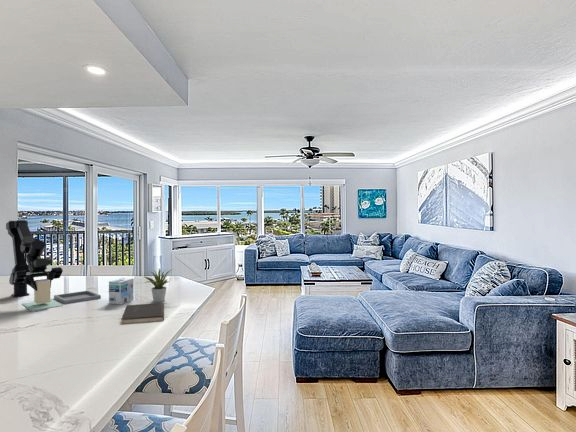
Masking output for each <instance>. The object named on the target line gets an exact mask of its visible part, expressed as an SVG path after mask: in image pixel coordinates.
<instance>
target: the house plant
mask: <svg viewBox="0 0 576 432" xmlns="http://www.w3.org/2000/svg"><path fill="white" fill-rule="evenodd" d="M173 270H174V269H170V270H168V271H167V269H165V270H164V271H162V270H161V268H158V273H157V271H156V270H153V269H152V271H153V272H152V271H150V270H148V272H149V273H148V272H147V271H146V272H145V273H147V274H149V275H150V274H152V277H153V278H151V277H148V276H144V278H145V279H146V280H147V281H146V283H151V284H152V285H153V286H154V287H151V294H152V295H151V296H152V300H153V302H154V303H161V302H164V301H165V299H166V294H167V293H166V292H167V287H166V286H164V285H165V284H167V283H169V281H168V279H167V277H168V276H169V274H170V273H171V271H173ZM166 271H167V272H166ZM165 272H166V273H165ZM160 301H161V302H160Z"/></svg>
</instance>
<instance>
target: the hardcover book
mask: <svg viewBox="0 0 576 432" xmlns="http://www.w3.org/2000/svg"><path fill="white" fill-rule="evenodd" d="M121 321H122V324H131V323H132V322H134V323H143V322H144V323H145V322H157V321H165V304H164V302H154V303H141V304H140V303H139V304H126V305H125V309H124V312H123V314H122V317H121ZM132 324H133V323H132Z"/></svg>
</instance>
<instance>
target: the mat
mask: <svg viewBox="0 0 576 432" xmlns="http://www.w3.org/2000/svg"><path fill="white" fill-rule="evenodd" d="M21 305H22V306H24V308H25V309H27V310H28V311H30V312H32V313H34V312H39V311H47V310H48V309H53V308H58V307H63V304H61V303H59V301H56V300H53V299H51V298H50V302H48V303H41V304H37V303H35V302H34V301H32V302H26V303H25V302H24V303H22V304H21Z"/></svg>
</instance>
